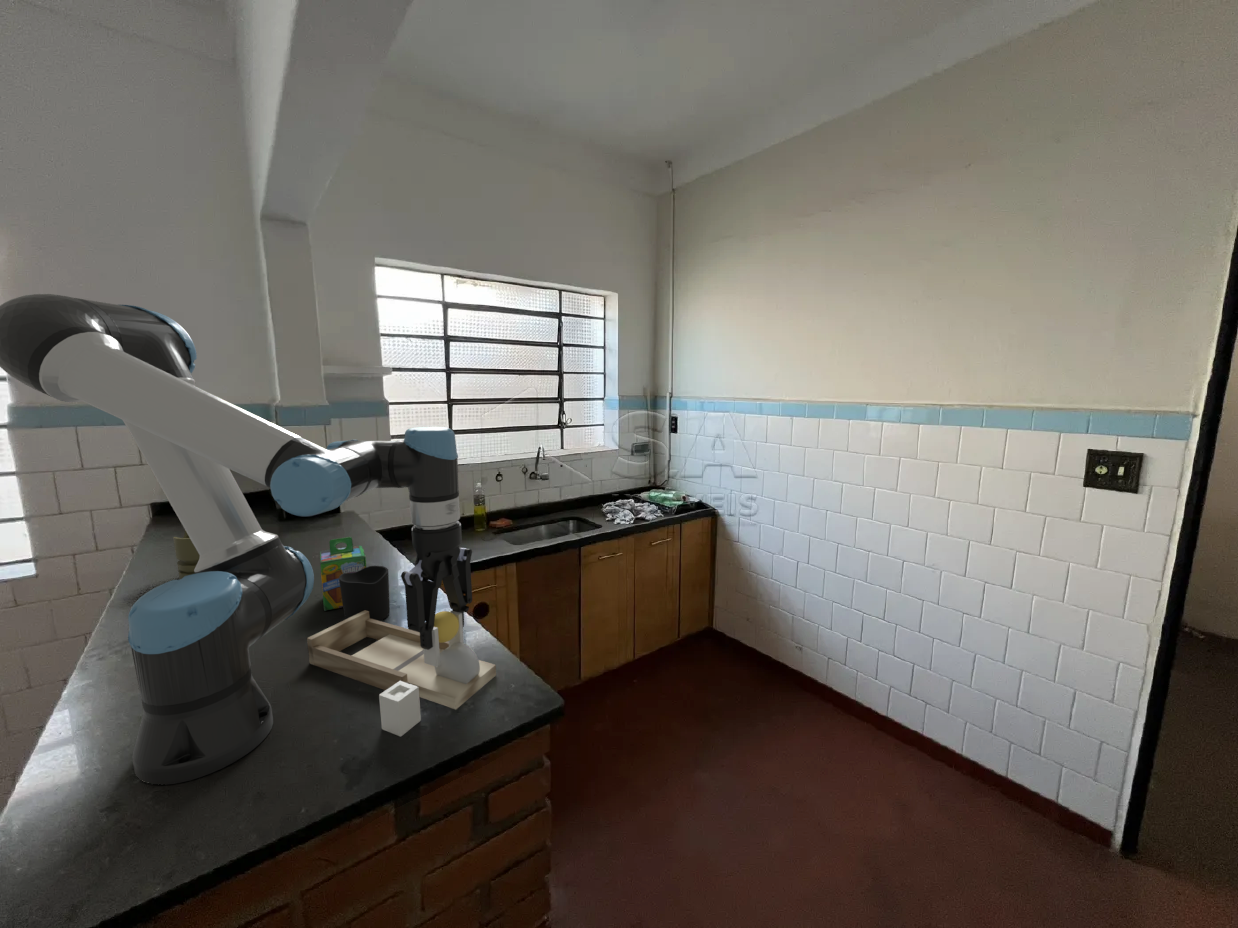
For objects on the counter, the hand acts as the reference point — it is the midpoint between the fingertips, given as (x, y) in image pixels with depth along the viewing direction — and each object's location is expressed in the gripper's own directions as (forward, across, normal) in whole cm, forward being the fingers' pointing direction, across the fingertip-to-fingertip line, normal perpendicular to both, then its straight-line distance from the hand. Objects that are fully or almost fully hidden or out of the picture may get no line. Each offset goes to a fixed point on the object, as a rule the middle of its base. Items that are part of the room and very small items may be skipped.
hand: (444, 654), depth 84 cm
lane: (+5, 0, +10) cm, 11 cm away
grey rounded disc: (+5, 0, -3) cm, 6 cm away
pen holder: (+5, +11, +32) cm, 35 cm away
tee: (+5, -11, -2) cm, 12 cm away
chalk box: (+5, +15, +44) cm, 47 cm away
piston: (+5, +10, +90) cm, 91 cm away
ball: (-5, 0, 0) cm, 5 cm away
